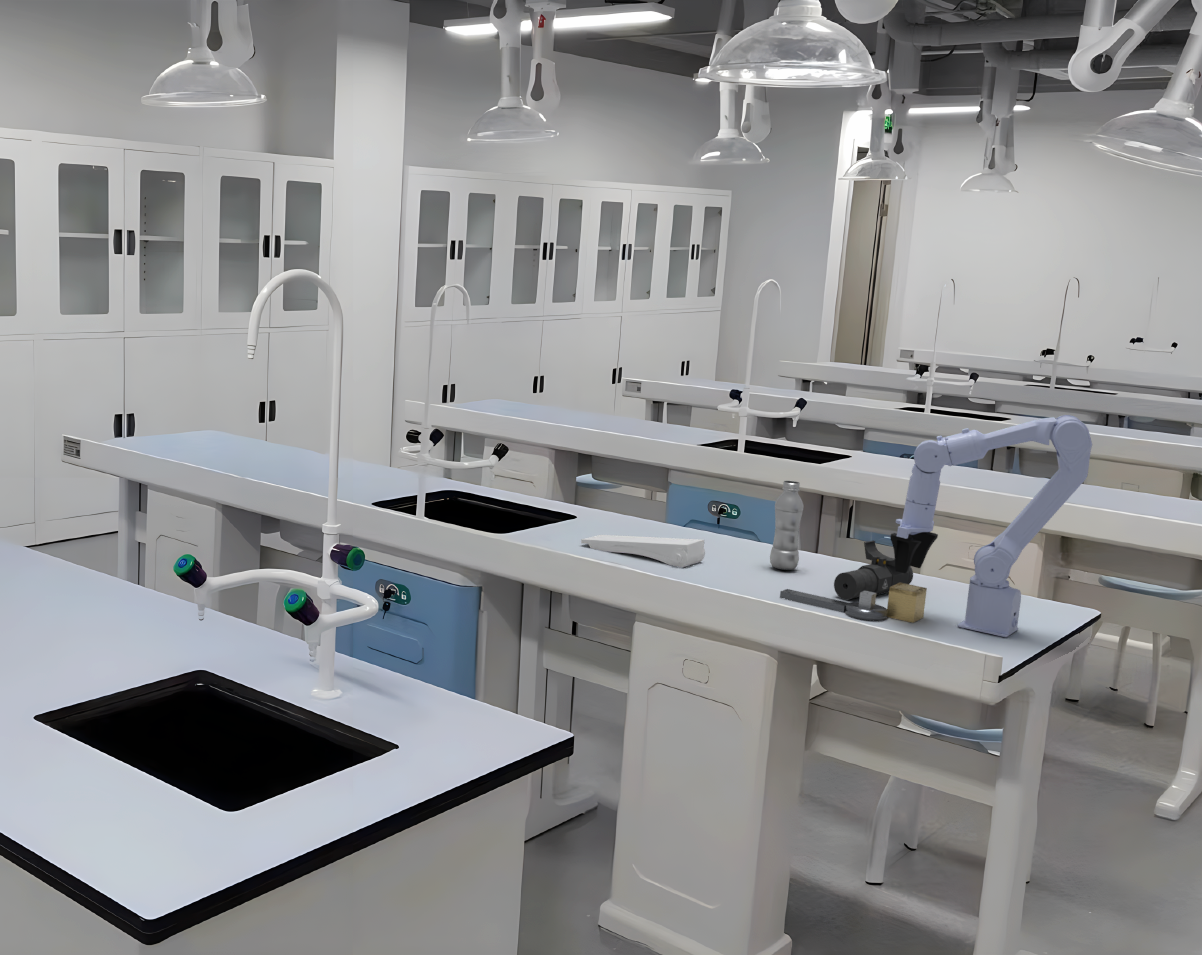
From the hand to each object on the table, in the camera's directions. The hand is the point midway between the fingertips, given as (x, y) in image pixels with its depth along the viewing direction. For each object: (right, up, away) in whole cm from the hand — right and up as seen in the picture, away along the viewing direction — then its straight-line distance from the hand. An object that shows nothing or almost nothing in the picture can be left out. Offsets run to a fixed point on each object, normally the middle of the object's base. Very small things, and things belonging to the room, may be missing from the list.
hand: (908, 569), depth 228 cm
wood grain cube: (0, -9, +1) cm, 10 cm away
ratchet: (-14, -8, +4) cm, 17 cm away
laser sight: (-2, -7, +19) cm, 21 cm away
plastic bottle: (-19, -3, +35) cm, 40 cm away
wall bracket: (-51, 0, +40) cm, 65 cm away
